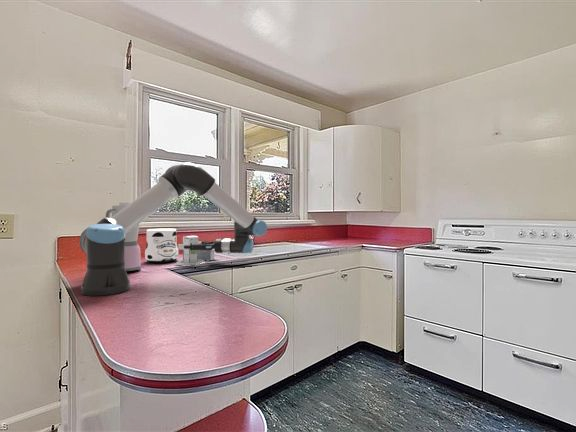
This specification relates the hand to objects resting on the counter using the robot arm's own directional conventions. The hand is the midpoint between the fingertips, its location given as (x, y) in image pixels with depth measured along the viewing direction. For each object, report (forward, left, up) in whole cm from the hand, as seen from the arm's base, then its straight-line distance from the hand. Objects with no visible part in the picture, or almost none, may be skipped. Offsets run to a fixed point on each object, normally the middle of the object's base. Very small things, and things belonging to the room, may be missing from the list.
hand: (184, 245), depth 168 cm
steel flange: (0, -3, -10) cm, 11 cm away
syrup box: (0, -3, -10) cm, 10 cm away
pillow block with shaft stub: (+14, -6, -10) cm, 18 cm away
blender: (-24, +19, -10) cm, 32 cm away
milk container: (+6, +16, -10) cm, 20 cm away
